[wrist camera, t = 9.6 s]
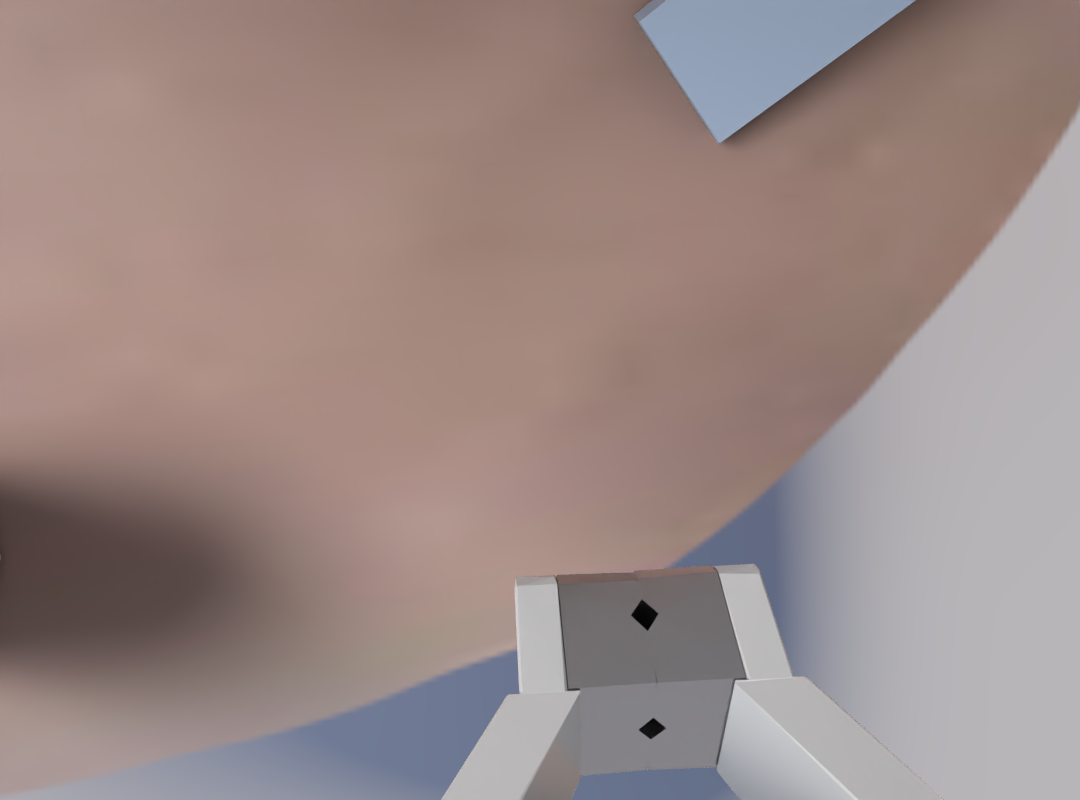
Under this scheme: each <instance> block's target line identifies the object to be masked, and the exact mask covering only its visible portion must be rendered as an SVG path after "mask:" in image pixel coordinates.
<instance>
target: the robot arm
mask: <svg viewBox="0 0 1080 800" xmlns="http://www.w3.org/2000/svg"><path fill="white" fill-rule="evenodd" d="M515 607H516V628H517V650H518V670H519V693H520V694H510V695H507V697H506V698H505V700H504V701H503V703H502V705H501V706H500V708H499V709H498V711H497V712H496V714H495V715H494V717H493V719H492V720H491V722H490V724H489V725H488V727H487V728H486V730H485V731H484V733H483V734H482V736H481V738H480V739H479V741H478V743H477V744H476V746H475V747H474V749H473V750H472V752H471V753H470V755H469V757H468V758H467V760H466V761H465V763H464V765H463V767H462V768H461V770H460V771H459V773H458V774H457V776H456V777H455V779H454V781H453V782H452V784H451V785H450V787H449V788H448V790H447V792H446V793H445V795H444V796H443V798H442V799H441V800H571V798H572V796H573V794H574V792H575V789H576V787H577V785H578V783H579V780H580V776H584V775H595V774H606V773H616V772H627V771H638V770H647V769H648V770H651V769H678V768H703V767H717V771H718V773H719V774H720V775H721V776H722V778H723V779H724V780H725V781H726V783H727V784H728V785H729V786H730V788H731V789H732V790H733V791H734V793H735V794H736V795H737V796H738V798H739V799H740V800H944V799H943V798H942V797H940V796H939V795H938V794H937V793H936V792H935V791H934V790H933V789H932V788H930V787H929V786H928V785H927V784H926V783H925V782H924V781H923V780H921V779H920V778H919V777H918V776H917V775H916V774H915V773H914V772H912V771H911V770H910V769H909V768H908V767H907V766H906V765H905V764H903V762H901V761H900V760H899V759H898V758H897V757H896V756H895V755H894V754H892V753H891V752H890V751H889V750H888V749H887V748H886V747H884V745H882V744H881V743H880V742H879V741H878V740H877V739H876V738H875V737H874V736H872V735H871V734H870V733H869V732H868V731H867V730H866V729H865V728H863V727H862V726H861V725H860V724H859V723H858V722H857V721H856V720H854V719H853V718H852V717H851V716H850V715H849V714H848V713H847V712H846V711H845V710H843V709H842V708H841V707H840V706H839V705H838V704H837V703H836V702H834V701H833V700H832V699H831V698H830V697H829V696H828V695H827V694H825V693H824V692H823V691H822V690H821V689H820V688H819V687H818V686H817V685H815V684H814V683H813V682H812V681H811V680H810V679H809V678H808V677H807V676H796V677H795V676H794V675H793V672H792V668H791V665H790V662H789V659H788V656H787V653H786V650H785V647H784V644H783V641H782V638H781V635H780V632H779V629H778V625H777V622H776V619H775V616H774V613H773V610H772V607H771V604H770V601H769V598H768V595H767V592H766V589H765V586H764V582H763V579H762V577H761V573H760V571H759V569H758V568H757V567H756V566H755V565H754V564H742V565H725V566H714V567H712V566H697V567H683V568H669V569H655V570H641V571H634V572H633V573H601V574H570V575H557V576H555V575H548V576H526V577H516V579H515Z"/></svg>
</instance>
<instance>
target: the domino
mask: <svg viewBox="0 0 1080 800" xmlns="http://www.w3.org/2000/svg"><path fill="white" fill-rule="evenodd" d="M914 1H916V0H652V1H651V2H649V3H648V4H647V5H646V6H644V7H643V8H642V9H641V10H639V11H638V12H637V13H636V14H634V15H633V16H634V18H635V20H636V21H637V23H638V24H639V26H640V27H641V29H642V30H643V32H644V33H645V35H646V36H647V38H648V39H649V41H650V42H651V44H652V45H653V47H654V48H655V50H656V51H657V53H658V54H659V56H660V58H661V59H662V61H663V62H664V64H665V65H666V67H667V68H668V70H669V71H670V73H671V74H672V76H673V77H674V79H675V80H676V82H677V83H678V85H679V86H680V88H681V89H682V91H683V92H684V94H685V96H686V97H687V99H688V100H689V102H690V103H691V105H692V106H693V108H694V109H695V111H696V112H697V114H698V115H699V117H700V118H701V120H702V121H703V123H704V124H705V126H706V127H707V129H708V130H709V132H710V133H711V135H712V136H713V137H714V138H715V139H716V140H717V142H718V143H719V144H720V143H721V142H722V141H724V140H725V139H726V138H728V137H729V136H731V135H732V134H733V133H735V132H736V131H737V130H739V129H740V128H741V127H743V126H744V125H746V124H747V123H748V122H750V121H751V120H752V119H754V118H755V117H757V116H758V115H759V114H761V113H762V112H763V111H765V110H766V109H768V108H769V107H770V106H772V105H773V104H774V103H776V102H777V101H779V100H780V99H781V98H783V97H784V96H785V95H787V94H788V93H789V92H791V91H792V90H794V89H795V88H796V87H798V86H799V85H800V84H802V83H803V82H805V81H806V80H807V79H809V78H810V77H811V76H813V75H814V74H816V73H817V72H818V71H820V70H821V69H822V68H824V67H825V66H827V65H828V64H829V63H831V62H832V61H833V60H835V59H836V58H838V57H839V56H840V55H842V54H843V53H844V52H846V51H847V50H848V49H850V48H851V47H853V46H854V45H855V44H857V43H858V42H859V41H861V40H862V39H864V38H865V37H866V36H868V35H869V34H870V33H872V32H873V31H875V30H876V29H877V28H879V27H880V26H881V25H883V24H884V23H886V22H887V21H888V20H890V19H891V18H892V17H894V16H895V15H896V14H898V13H899V12H901V11H902V10H903V9H905V8H906V7H907V6H909V5H910V4H912V3H913V2H914Z"/></svg>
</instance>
